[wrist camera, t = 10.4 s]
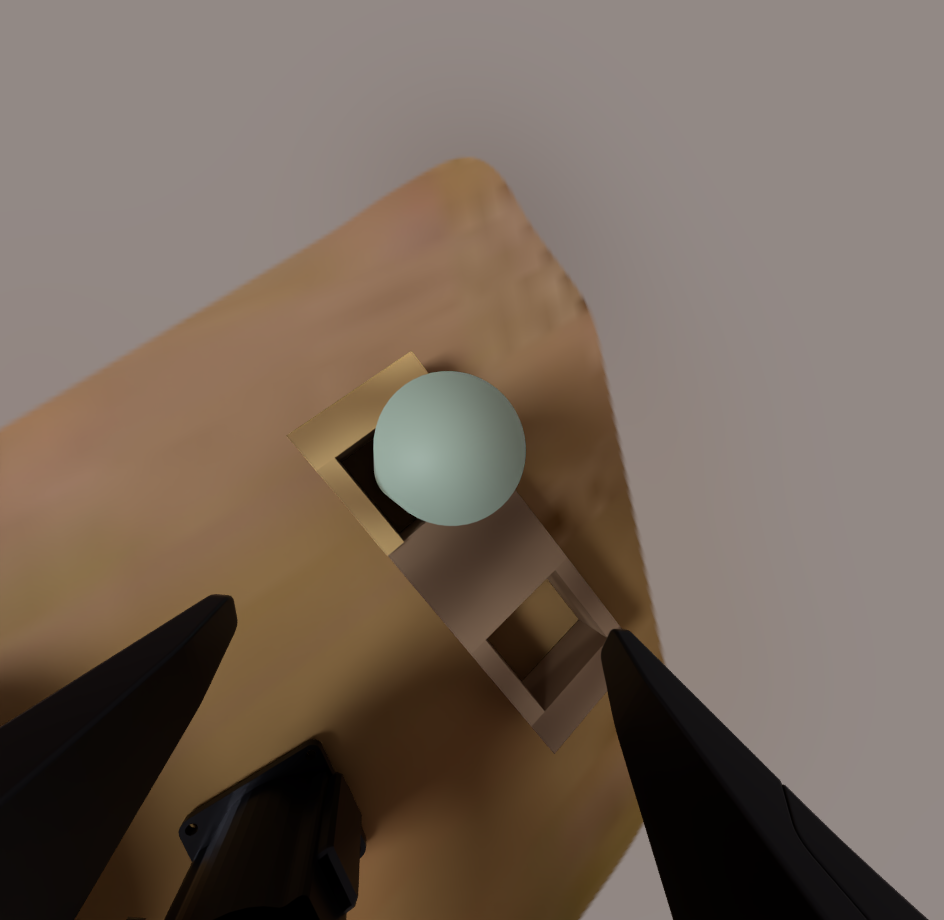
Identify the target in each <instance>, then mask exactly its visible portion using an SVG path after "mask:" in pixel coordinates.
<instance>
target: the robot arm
mask: <svg viewBox="0 0 944 920" xmlns="http://www.w3.org/2000/svg"><path fill="white" fill-rule="evenodd" d="M236 627H237V615H236V610H235V604H234V600H233V598H232V597H231V596H229V595H219V594H213V595H210V596H208V597H206V598H205V599H203V600H201V601H200V602H198V603H197V604H195V605H193V606H192V607H190V608H189V609H187V610H185V611H184V612H182V613H181V614H179V615H177V616H176V617H174V618H173V619H171V620H170V621H168V622H166V623H165V624H163V625H162V626H160V627H158V628H157V629H155V630H154V631H152V632H150V633H149V634H147V635H146V636H144V637H143V638H141V639H139V640H138V641H136V642H135V643H133V644H131V645H130V646H128V647H127V648H125V649H123V650H122V651H120V652H119V653H117V654H116V655H114V656H112V657H111V658H109V659H108V660H106V661H104V662H103V663H101V664H100V665H98V666H96V667H95V668H93V669H92V670H90V671H89V672H87V673H85V674H84V675H82V676H81V677H79V678H77V679H76V680H74V681H73V682H71V683H69V684H68V685H66V686H65V687H63V688H61V689H60V690H58V691H57V692H55V693H54V694H52V695H50V696H49V697H47V698H46V699H44V700H42V701H41V702H39V703H38V704H36V705H34V706H33V707H31V708H30V709H28V710H27V711H25V712H23V713H22V714H20V715H19V716H17V717H15V718H14V719H12V720H11V721H9V722H7V723H6V724H4V725H3V726H1V727H0V920H74V919H75V917H76V916H77V914H78V912H79V911H80V909H81V907H82V905H83V904H84V902H85V900H86V899H87V897H88V895H89V894H90V892H91V890H92V888H93V887H94V885H95V883H96V882H97V880H98V878H99V877H100V875H101V873H102V871H103V870H104V868H105V866H106V865H107V863H108V861H109V860H110V858H111V856H112V854H113V853H114V851H115V849H116V848H117V846H118V844H119V843H120V841H121V839H122V837H123V836H124V834H125V832H126V831H127V829H128V827H129V826H130V824H131V822H132V820H133V819H134V817H135V815H136V814H137V812H138V810H139V809H140V807H141V805H142V803H143V802H144V800H145V798H146V797H147V795H148V793H149V792H150V790H151V788H152V786H153V785H154V783H155V781H156V780H157V778H158V776H159V775H160V773H161V771H162V769H163V768H164V766H165V764H166V763H167V761H168V759H169V758H170V756H171V754H172V752H173V751H174V749H175V747H176V746H177V744H178V742H179V741H180V739H181V737H182V735H183V734H184V732H185V730H186V729H187V727H188V725H189V724H190V722H191V720H192V718H193V717H194V715H195V713H196V711H197V710H198V708H199V706H200V704H201V702H202V700H203V698H204V696H205V694H206V692H207V690H208V688H209V686H210V684H211V682H212V680H213V677H214V675H215V673H216V671H217V669H218V667H219V665H220V663H221V660H222V658H223V656H224V654H225V652H226V650H227V648H228V646H229V643H230V641H231V639H232V637H233V635H234V633H235V630H236ZM601 662H602V667H603V672H604V677H605V682H606V686H607V691H608V696H609V701H610V706H611V711H612V715H613V720H614V724H615V728H616V732H617V736H618V739H619V742H620V746H621V749H622V752H623V756H624V759H625V762H626V766H627V769H628V772H629V775H630V779H631V782H632V785H633V789H634V792H635V795H636V799H637V802H638V805H639V808H640V812H641V815H642V818H643V822H644V825H645V828H646V831H647V834H648V838H649V841H650V844H651V848H652V851H653V855H654V858H655V861H656V865H657V867H658V871H659V874H660V878H661V881H662V884H663V888H664V891H665V894H666V897H667V900H668V904H669V907H670V911H671V914H672V917H673V920H928V919H927V918H926V917H925V916H924V915H923V914H921V913H920V912H919V911H918V910H917V909H916V908H915V907H914V906H913V905H911V904H910V903H909V902H908V901H907V900H906V899H905V898H904V897H903V896H901V895H900V894H899V893H898V892H897V891H896V890H895V889H894V888H893V887H892V886H890V885H889V884H888V883H887V882H886V881H885V880H884V879H883V878H882V877H880V875H878V874H877V873H876V872H875V871H874V870H873V869H872V868H871V867H870V866H869V865H868V864H867V863H866V862H864V861H863V860H862V859H861V858H860V857H859V856H858V855H857V854H856V853H855V852H853V851H852V850H851V849H850V848H849V847H848V846H847V845H846V844H845V843H844V842H843V841H842V840H841V839H840V838H839V837H837V835H836V834H835V833H833V832H832V831H831V830H830V829H829V828H828V827H827V826H826V825H825V824H824V823H823V822H822V821H821V820H820V819H819V818H818V817H817V816H816V815H815V814H814V813H813V812H812V811H811V810H810V809H809V808H808V807H807V806H806V805H805V804H804V803H803V802H802V801H801V800H800V799H799V798H798V797H796V795H794V793H793V792H792V791H791V790H790V789H788V787H786V786H785V785H782V783H781V781H780V780H779V779H778V778H777V777H776V776H775V775H774V774H773V773H772V772H771V771H770V770H769V769H768V768H767V767H766V766H765V765H764V764H763V763H762V762H761V761H760V760H759V759H758V758H757V757H756V756H755V755H754V754H753V753H752V752H751V751H750V750H749V749H748V748H747V747H746V746H745V745H744V744H743V743H742V742H741V741H740V740H739V739H738V738H737V737H736V736H735V735H734V734H733V733H732V732H731V731H730V730H729V729H728V728H727V727H726V726H725V725H724V724H723V723H722V722H721V721H720V720H719V719H718V718H717V717H716V716H715V715H714V714H713V713H712V712H711V711H710V710H709V709H708V708H707V707H706V706H705V705H704V704H703V703H702V702H701V701H700V700H699V699H698V698H697V697H696V696H695V695H694V694H693V693H692V692H691V691H690V690H689V689H688V688H686V686H685V685H683V683H682V682H681V681H680V680H679V679H678V678H677V677H676V676H674V674H673V673H672V672H671V671H670V670H669V669H668V668H667V667H666V666H665V665H664V664H663V663H662V662H661V661H660V660H659V659H658V658H657V657H656V656H655V655H654V654H653V653H652V652H651V651H650V650H649V649H648V648H647V647H646V646H644V645H643V644H642V643H641V642H640V641H639V640H638V639H637V638H636V637H635V636H634V635H633V634H632V633H631V632H630V631H628V630H625V629H612V630H611V631H610V632H609V634H608V636H607V639H606V641H605V643H604V645H603V647H602V650H601ZM309 750H314V751H315V752H316V753H315V754H313V755H309V754H308V753H307V752H308V751H309ZM192 823H193V824H196V825H197V826H198V827H195V828H194V827H191V826H190V824H192ZM179 837H180V839H181V841H182V843H183V845H184V847H185V849H186V851H187V853H188V855H189V857H190V859H191V861H192V864H191V866H190V868H189V870H188V872H187V874H186V876H185V878H184V880H183V882H182V884H181V886H180V888H179V890H178V893H177V895H176V897H175V899H174V901H173V903H172V905H171V907H170V909H169V911H168V913H167V915H166V917H165V919H164V920H346V915H347V912H348V911H350V910H351V909H352V908H354V907H355V904H356V901H357V898H358V887H359V863H360V858H361V857H362V856H363V855H364V853H365V850H366V836H365V834H364V832H363V830H362V828H361V812H360V810H359V808H358V806H357V804H356V802H355V800H354V798H353V796H352V793H351V791H350V789H349V787H348V785H347V783H346V781H345V779H344V777H343V775H342V774H341V773H338V772H336V773H335V771H334V769H333V767H332V764H331V762H330V760H329V758H328V756H327V754H326V752H325V750H324V748H323V746H322V744H321V742H320V741H318V740H316V739H312V740H309V741H307V742H306V743H304V744H302V745H301V746H299V747H297V748H296V749H294V750H293V751H291V752H289V753H288V754H286V755H284V756H283V757H281V758H279V759H278V760H276V761H275V762H273V763H271V764H270V765H268V766H266V767H265V768H263V769H261V770H260V771H258V772H257V773H255V774H253V775H252V776H250V777H248V778H247V779H245V780H243V781H242V782H240V783H238V784H237V785H235V786H234V787H232V788H230V789H229V790H227V791H225V792H224V793H222V794H220V795H219V796H217V797H216V798H214V799H212V800H211V801H209V802H207V803H206V804H204V805H202V806H201V807H199V808H198V809H196V810H194V811H193V812H191V813H190V814H189V815H187V817H186V818H185V820H184V821H183V823H182V825H181V827H180V829H179ZM127 920H146V918H136V917H128V918H127Z"/></svg>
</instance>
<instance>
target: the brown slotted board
mask: <svg viewBox="0 0 944 920" xmlns="http://www.w3.org/2000/svg"><path fill="white" fill-rule="evenodd" d="M426 374H429V373H428V372H427V371H426V369H425V368H424V367H423V366H422V364H421V363H420V362H419V360H418V359H417V358H416V356H415V355H414V354H413V352H412V351H411V352H409V353H408V354H406V355H405V356H403V357H402V358H400V359H399V360H397V361H396V362H394V363H393V364H391V365H390V366H388V367H387V368H385V369H384V370H383V371H381V372H380V373H378V374H377V375H375V376H374V377H372V378H371V379H369V380H368V381H366V382H365V383H363V384H362V385H360V386H359V387H357V388H356V389H355V390H353V391H352V392H350V393H349V394H347V395H346V396H344V397H343V398H341V399H340V400H338V401H337V402H335V403H334V404H332V405H331V406H329V407H328V408H327V409H325V410H324V411H322V412H321V413H319V414H318V415H316V416H315V417H313V418H312V419H310V420H309V421H307V422H306V423H304V424H303V425H301V426H300V427H298V428H297V429H296V430H294V431H293V432H291V433H290V434H288V435H287V437H288V438H289V439H290V441H291V442H292V443H293V444H294V445H295V447H296V448H297V449H298V450H299V451H300V453H301V454H302V455H303V456H304V457H305V459H306V460H307V461H308V462H309V463H310V465H311V466H312V467H313V468H314V469H315V470H316V472H317V473H318V474H319V475H320V476H321V478H322V479H323V480H324V481H325V482H326V484H327V485H328V486H329V487H330V488H331V490H332V491H333V492H334V493H335V494H336V495H337V497H338V498H339V499H340V500H341V501H342V503H343V504H344V505H345V506H346V507H347V509H348V510H349V511H350V512H351V513H352V515H353V516H354V517H355V518H356V519H357V520H358V522H359V523H360V524H361V525H362V526H363V528H364V529H365V530H366V531H367V532H368V534H369V535H370V536H371V537H372V538H373V540H374V541H375V542H376V543H377V544H378V545H379V547H380V548H381V549H382V550H383V551H384V553H385V554H386V555H387V556H389V558H390V559H391V560H392V561H393V562H394V564H395V565H396V566H397V567H398V568H399V570H400V571H401V572H402V573H403V574H404V576H405V577H406V578H407V579H408V580H409V581H410V583H411V584H412V585H413V586H414V587H415V589H416V590H417V591H418V592H419V593H420V595H421V596H422V597H423V598H424V599H425V601H426V602H427V603H428V604H429V605H430V606H431V608H432V609H433V610H434V611H435V612H436V614H437V615H438V616H439V617H440V618H441V620H442V621H443V622H444V623H445V624H446V626H447V627H448V628H449V629H450V630H451V632H452V633H453V634H454V635H455V636H456V637H457V639H458V640H459V641H460V642H461V643H462V645H463V646H464V647H465V648H466V649H467V651H468V652H469V653H470V654H471V655H472V657H473V658H474V659H475V660H476V661H477V662H478V664H479V665H480V666H481V667H482V668H483V670H484V671H485V672H486V673H487V674H488V676H489V677H490V678H491V679H492V680H493V682H494V683H495V684H496V685H497V686H498V688H499V689H500V690H501V691H502V692H503V693H504V695H505V696H506V697H507V698H508V699H509V701H510V702H511V703H512V704H513V705H514V707H515V708H516V709H517V710H518V711H519V713H520V714H521V715H522V716H523V717H524V718H525V720H526V721H527V722H528V723H529V724H530V726H531V727H532V728H533V729H534V730H535V732H536V733H537V734H538V735H539V736H540V738H541V739H542V740H543V741H544V742H545V743H546V745H547V746H548V747H549V748H550V749H551V751H552V752H553V753H554V754H555V753H556V751H557V750H558V749H559V748H560V747H561V745H562V744H563V743H564V742H565V741H566V739H567V738H568V737H569V736H570V735H571V733H572V732H573V731H574V730H575V729H576V728H577V726H578V725H579V724H580V723H581V722H582V720H583V719H584V718H585V717H586V716H587V714H588V713H589V712H590V711H591V710H592V708H593V707H594V706H595V705H596V704H597V702H598V701H599V700H600V699H601V698H602V696H603V695H604V694H605V693H606V692H607V686H606V682H605V677H604V672H603V667H602V662H601V650H602V647H603V645H604V643H605V641H606V639H607V636H608V634H609V632H610V631H611V630H612V629H622V628H621V627H620V626H619V624H618V623H617V622H616V620H615V619H614V618H613V616H612V615H611V614H610V612H609V611H608V610H607V609H606V607H605V606H604V605H603V603H602V602H601V601H600V599H599V598H598V597H597V596H596V594H595V593H594V592H593V590H592V589H591V588H590V586H589V585H588V584H587V582H586V581H585V580H584V579H583V577H582V576H581V575H580V573H579V572H578V571H577V569H576V568H575V567H574V565H573V564H572V563H571V562H570V560H569V559H568V558H567V556H566V555H565V554H564V552H563V551H562V550H561V549H560V547H559V546H558V545H557V543H556V542H555V541H554V539H553V538H552V537H551V535H550V534H549V533H548V532H547V530H546V529H545V528H544V526H543V525H542V524H541V522H540V521H539V520H538V519H537V517H536V516H535V515H534V513H533V512H532V511H531V509H530V508H529V507H528V505H527V504H526V503H525V502H524V500H523V499H522V498H521V496H520V495H519V494H518V492H517V491H516V490H515V491H514V492H513V494H512V495H511V496H510V498H509V499H508V500H507V501H506V502H505V503H504V505H503V506H502V507H500V508H499V509H498V510H497V511H495V512H494V513H493V514H491V515H489V516H488V517H486V518H484V519H481V520H479V521H477V522H474V523H470V524H466V525H459V526H444V525H437V524H433V523H429V522H426V521H424V520H421V519H419V518H417V519H416V520H415V521H414V522H413V523H411V524H410V525H409V526H408V527H407V528H405V529H404V530H403V531H402V532H401V533H399V532H398V531H397V530H396V528H395V527H394V526H393V525H392V524H391V522H390V521H389V520H388V519H387V518H386V516H385V515H384V514H383V513H382V512H381V510H380V509H379V508H378V507H377V505H376V504H375V503H374V502H373V501H372V499H371V498H370V497H369V496H368V495H367V493H366V492H365V491H364V490H363V489H362V487H361V486H360V485H359V484H358V483H357V481H356V480H355V479H354V478H353V476H352V475H351V474H350V473H349V472H348V470H347V469H346V468H345V467H344V466H343V464H342V463H341V462H342V461H343V460H345V459H346V458H348V457H349V456H350V455H352V454H353V453H354V452H356V451H357V450H358V449H360V448H361V447H363V446H364V445H365V444H367V443H368V442H369V441H371V440H372V439H373V438H374V434H375V429H376V425H377V422H378V419H379V416H380V414H381V412H382V410H383V408H384V407H385V405H386V404H387V402H388V401H389V399H390V398H391V397H392V396H393V395H394V394H395V393H396V392H397V391H398V390H399V389H400V388H401V387H403V386H404V385H405V384H407V383H408V382H410V381H412V380H413V379H416V378H418V377H420V376H422V375H426ZM546 579H548V580H549V582H550V583H551V584H552V586H553V587H554V588H555V589H556V591H557V592H558V593H559V595H560V596H561V597H562V598H563V600H564V601H565V602H566V604H567V605H568V606H569V607H570V609H571V610H572V611H573V612H574V614H575V615H576V616H577V618H578V619H579V620H578V621H577V622H576V623H575V625H574V626H573V627H572V628H571V629H570V630H569V631H568V632H567V633H566V634H565V635H564V636H563V638H562V639H561V640H560V641H559V642H558V643H557V644H556V645H555V646H554V647H553V648H552V649H551V651H550V652H549V653H548V654H547V655H546V656H545V657H544V658H543V659H542V660H541V661H540V662H539V664H538V665H537V666H536V667H535V668H534V669H533V670H532V671H531V672H530V673H529V674H528V675H527V677H526V678H525V679H524V680H523V681H521V680H520V678H519V677H518V676H517V675H516V674H515V672H514V671H513V670H512V669H511V668H510V666H509V665H508V664H507V663H506V661H505V660H504V659H503V658H502V657H501V655H500V654H499V653H498V652H497V651H496V649H495V648H494V647H493V646H492V645H491V643H490V642H489V641H488V640H487V638H488V637H489V636H490V635H491V634H492V633H493V632H494V631H495V630H496V629H497V628H498V627H499V626H500V625H501V624H502V623H503V622H504V621H505V620H506V619H507V618H508V617H509V616H510V615H511V614H512V613H513V612H514V611H515V610H516V609H517V608H518V607H519V606H520V605H521V604H522V603H523V602H524V601H525V600H526V599H527V598H528V597H529V596H530V595H531V594H532V593H533V592H534V591H535V590H536V589H537V588H538V587H539V586H540V585H541V584H542V583H543V582H544V581H545V580H546Z"/></svg>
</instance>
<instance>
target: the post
mask: <svg viewBox="0 0 944 920" xmlns="http://www.w3.org/2000/svg"><path fill="white" fill-rule="evenodd" d="M373 451H374V475H375V480H376V482H377V485H378V487H379V488H380V489H381V491H382V492H383V493H384V494H385V495H387V496H388V497H389V498H390V499H392V500H393V501H394V502H396V503H397V504H398V505H399V506H401V507H402V508H403V509H404V510H406V511H407V512H408V513H410V514H412V515H413V516H415V517H417V518H419V519H421V520H424V521H426V522H429V523H433V524H437V525H444V526H459V525H466V524H470V523H474V522H477V521H479V520H481V519H484V518H486V517H488V516H489V515H491V514H493V513H494V512H495V511H497V510H498V509H499V508H500V507H502V506H503V505H504V503H505V502H506V501H507V500H508V499H509V498H510V496H511V495H512V494H513V492H514V491H515V489H516V487H517V485H518V484H519V481H520V479H521V476H522V473H523V469H524V465H525V458H526V443H525V436H524V432H523V427H522V425H521V422H520V419H519V417H518V415H517V413H516V411H515V409H514V408H513V406H512V405H511V403H510V402H509V401H508V400H507V398H506V397H505V396H504V395H503V394H502V393H501V392H500V391H499V390H498V389H496V388H495V387H494V386H492V385H491V384H489V383H488V382H486V381H484V380H482V379H481V378H478V377H476V376H473V375H471V374H467V373H462V372H455V371H440V372H433V373H429V374H426V375H422V376H420V377H418V378H416V379H413V380H412V381H410V382H408V383H407V384H405V385H404V386H403V387H401V388H400V389H399V390H398V391H397V392H396V393H395V394H394V395H393V396H392V397H391V398H390V399H389V401H388V402H387V404H386V405H385V407H384V408H383V410H382V412H381V414H380V416H379V419H378V422H377V425H376V429H375V434H374V447H373Z"/></svg>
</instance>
